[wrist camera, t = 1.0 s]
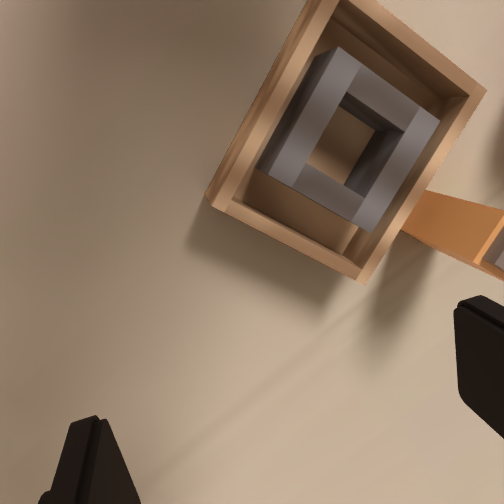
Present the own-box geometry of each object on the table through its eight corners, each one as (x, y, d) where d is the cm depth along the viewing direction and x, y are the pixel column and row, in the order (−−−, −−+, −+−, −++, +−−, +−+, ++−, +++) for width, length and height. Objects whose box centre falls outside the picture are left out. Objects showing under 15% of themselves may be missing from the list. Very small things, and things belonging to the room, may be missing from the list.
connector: (421, 188, 38) (520, 215, 28) (452, 209, 39) (558, 241, 29) (397, 227, 39) (485, 267, 28) (428, 245, 40) (523, 290, 29)
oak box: (311, -8, 31) (341, -33, 26) (444, 94, 36) (492, 89, 31) (204, 194, 34) (212, 207, 29) (340, 265, 39) (368, 287, 33)
